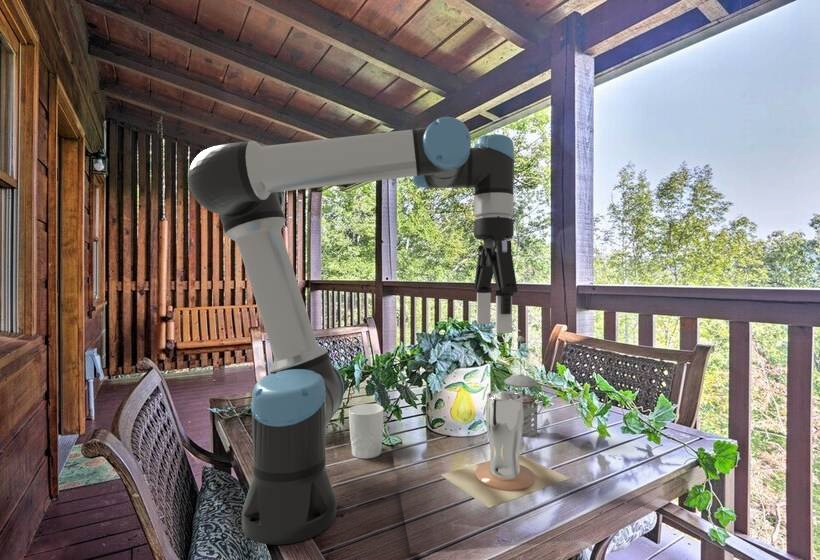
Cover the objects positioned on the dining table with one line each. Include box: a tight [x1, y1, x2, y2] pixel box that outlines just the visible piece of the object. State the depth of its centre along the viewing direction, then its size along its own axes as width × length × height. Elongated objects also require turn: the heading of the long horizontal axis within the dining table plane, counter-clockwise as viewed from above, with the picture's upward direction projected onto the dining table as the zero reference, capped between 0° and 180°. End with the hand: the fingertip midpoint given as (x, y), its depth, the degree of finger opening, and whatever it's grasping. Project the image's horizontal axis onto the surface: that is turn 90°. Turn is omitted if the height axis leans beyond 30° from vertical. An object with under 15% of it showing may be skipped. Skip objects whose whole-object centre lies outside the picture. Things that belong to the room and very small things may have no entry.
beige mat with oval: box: [440, 453, 571, 509], centre depth 83 cm, size 20×14×2 cm
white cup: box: [348, 403, 384, 460], centre depth 98 cm, size 8×8×10 cm
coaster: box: [476, 462, 534, 491], centre depth 83 cm, size 11×11×1 cm
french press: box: [504, 335, 545, 438], centre depth 108 cm, size 10×12×25 cm
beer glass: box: [485, 390, 523, 481], centre depth 83 cm, size 7×7×15 cm
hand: (492, 328), depth 84 cm, fingers open, 13 cm apart
